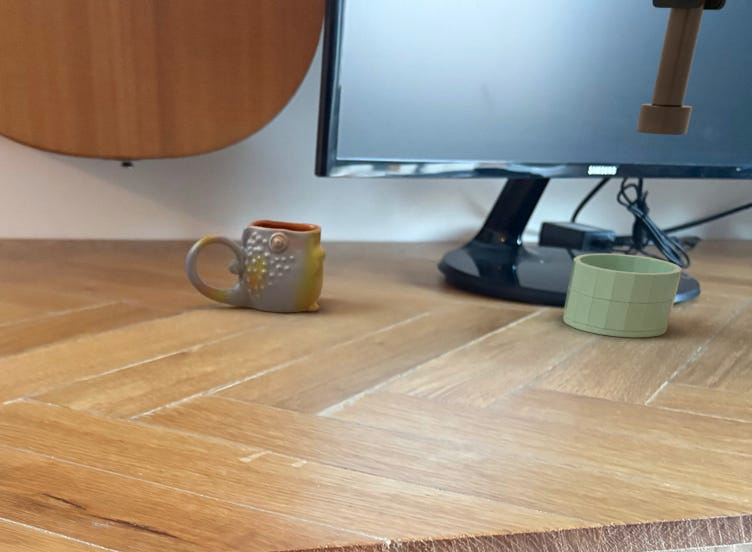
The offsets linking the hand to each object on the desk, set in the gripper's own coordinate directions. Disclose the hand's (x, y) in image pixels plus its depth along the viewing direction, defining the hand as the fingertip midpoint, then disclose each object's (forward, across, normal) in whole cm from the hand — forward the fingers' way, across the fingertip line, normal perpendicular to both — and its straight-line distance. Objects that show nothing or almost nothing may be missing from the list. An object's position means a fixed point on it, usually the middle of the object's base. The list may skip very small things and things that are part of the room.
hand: (688, 5), depth 63 cm
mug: (+23, -10, +29) cm, 38 cm away
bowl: (+23, +11, +7) cm, 26 cm away
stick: (+7, 0, 0) cm, 7 cm away
